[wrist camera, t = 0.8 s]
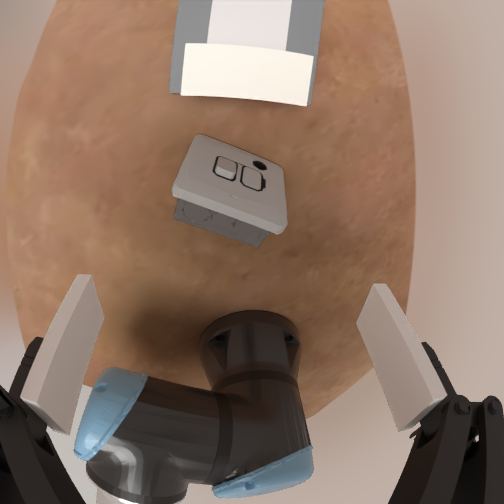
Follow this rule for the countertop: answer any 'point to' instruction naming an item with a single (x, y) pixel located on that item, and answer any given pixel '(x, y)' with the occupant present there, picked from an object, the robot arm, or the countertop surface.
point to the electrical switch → (230, 192)
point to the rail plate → (247, 49)
